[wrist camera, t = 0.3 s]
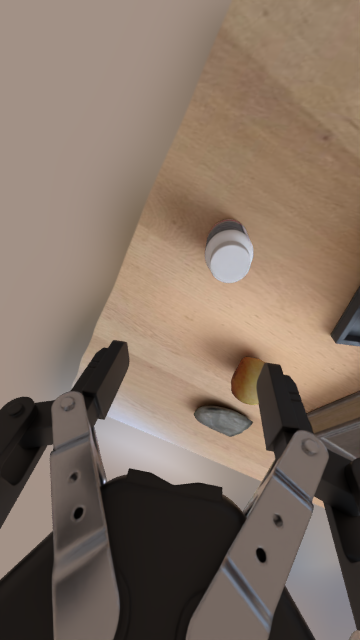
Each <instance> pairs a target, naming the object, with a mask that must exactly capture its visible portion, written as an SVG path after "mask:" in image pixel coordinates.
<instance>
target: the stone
mask: <svg viewBox="0 0 360 640" xmlns="http://www.w3.org/2000/svg"><path fill="white" fill-rule="evenodd" d="M194 416H195V418H196V419H197V420H198V421H199V422H200V423H202V424H203V425H205V426H208V427H209V428H211V429H213V430H216V431H218V432H220V433H223V434H225V435H227V436H230V437H231V436H235V435H237V434H240V433H242V432H243V431H244V430H246V429H248V428H249V427H250V426H251V425H252V423H253V422H252V421H251V420H249V419H248V418H247V417H245V416H243V415H241V414H239V413H238V412H235V411H233V410H230V409H227V408H223V407H217V406H203V407H200V408H198V409H197V410H196V411H195V413H194Z"/></svg>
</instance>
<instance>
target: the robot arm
mask: <svg viewBox="0 0 360 640" xmlns="http://www.w3.org/2000/svg"><path fill="white" fill-rule="evenodd" d="M128 367H129V353H128V345H127V342H123V341H117V340H113V341H112V343H111V344H110V346H109V347H108V348H102V349H101V350H100V351H98V352H97V353H96V354H95V356H94V357H93V359H92V360H91V362H90V363H89V364H88V367H86V369H85V370H84V372H83V373H82V375H81V376H80V378H79V379H78V381H77V382H76V384H75V385H74V387H73V388H72V390H71V391H70V392H66V393H64V394H62V395H60V396H59V397H58V398H57V399H56V400H53V401H46V402H39V403H34V401H33V400H32V399H31V398H29V397H20V398H16V399H14V400H12V401H10V402H8V403H7V404H6V405H5V406H3V407H2V409H1V410H0V528H1V527H2V525H3V523H4V521H5V520H6V518H7V516H8V514H9V513H10V511H11V509H12V507H13V505H14V504H15V502H16V500H17V498H18V497H19V495H20V493H21V491H22V490H23V488H24V486H25V484H26V482H27V481H28V479H29V477H30V475H31V474H32V472H33V470H34V468H35V466H36V465H37V463H38V461H39V459H40V458H41V456H42V454H43V452H44V451H45V449H46V447H47V445H52V444H53V445H54V448H53V451H52V452H51V453H50V474H51V495H52V496H51V497H52V519H53V531H52V532H51V533H50V534H49V535H48V536H47V537H46V538H45V539H44V540H43V541H42V542H40V543H39V544H38V545H37V546H36V547H35V548H34V549H33V550H32V551H31V552H30V553H29V554H28V555H26V556H25V557H24V558H23V559H22V560H21V561H20V562H19V563H18V564H17V565H16V566H15V567H14V568H13V569H11V570H10V571H9V572H8V573H7V574H6V575H5V576H4V577H3V578H2V579H1V580H0V640H315V638H314V636H313V634H312V633H311V631H310V629H309V627H308V625H307V624H306V622H305V620H304V618H303V617H302V615H301V613H300V611H299V609H298V608H297V606H296V604H295V602H294V601H293V599H292V597H291V595H290V593H289V592H288V590H287V588H286V586H285V583H286V581H287V578H288V575H289V573H290V570H291V568H292V565H293V562H294V560H295V557H296V555H297V552H298V549H299V547H300V544H301V541H302V539H303V536H304V534H305V530H306V529H307V526H308V523H309V521H310V518H311V515H312V513H313V508H314V506H313V504H312V500H313V497H314V496H315V497H316V498H318V499H320V500H322V501H323V503H324V506H325V510H326V514H327V518H328V522H329V525H330V529H331V533H332V537H333V540H334V544H335V548H336V552H337V556H338V559H339V563H340V567H341V571H342V575H343V578H344V582H345V586H346V590H347V593H348V597H349V601H350V605H351V609H352V613H353V616H354V620H355V624H356V628H357V631H355V632H353V633H352V635H351V636H350V638H349V640H360V458H356V459H355V460H353V461H351V460H349V459H347V458H345V457H343V456H341V455H338V454H336V453H334V452H332V451H331V450H329V449H327V448H326V446H325V445H324V443H323V442H322V441H321V440H320V439H319V438H318V437H317V436H316V435H314V433H313V431H312V428H311V426H310V423H309V420H308V417H307V414H306V411H305V409H304V406H303V403H302V402H301V401H302V400H301V397H300V395H299V392H298V389H297V386H296V384H295V382H294V381H293V380H292V379H291V377H290V376H288V375H283V371H282V368H281V366H280V365H279V364H272V363H264V365H263V368H262V370H261V372H260V375H259V377H258V380H257V385H256V390H257V396H258V402H259V408H260V414H261V420H262V426H263V432H264V438H265V444H266V450H268V451H273V452H274V454H275V460H274V462H273V463H272V465H271V467H270V468H269V470H268V472H267V473H266V475H265V477H264V478H263V480H262V482H261V484H260V485H259V487H258V488H257V490H256V492H255V493H254V495H253V496H252V498H251V499H250V501H249V502H248V504H247V506H246V507H245V509H244V511H243V512H242V511H241V510H240V508H239V507H238V506H237V505H236V504H235V503H234V502H233V501H232V500H230V499H229V498H228V497H226V496H225V495H223V494H222V487H218V486H213V485H208V484H204V483H190V484H181V485H172V484H170V483H168V482H167V481H165V480H163V479H161V478H160V477H158V476H156V475H154V474H152V473H150V472H145V471H140V470H135V469H129V471H128V474H127V475H123V476H119V477H116V478H114V479H112V480H110V481H108V482H107V478H106V474H105V471H104V467H103V463H102V459H101V455H100V450H99V445H98V441H97V437H96V432H95V427H94V425H95V423H96V421H97V419H105V417H106V415H107V413H108V411H109V409H110V407H111V404H112V402H113V400H114V398H115V396H116V394H117V391H118V389H119V387H120V385H121V383H122V381H123V378H124V376H125V374H126V372H127V370H128Z"/></svg>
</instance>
